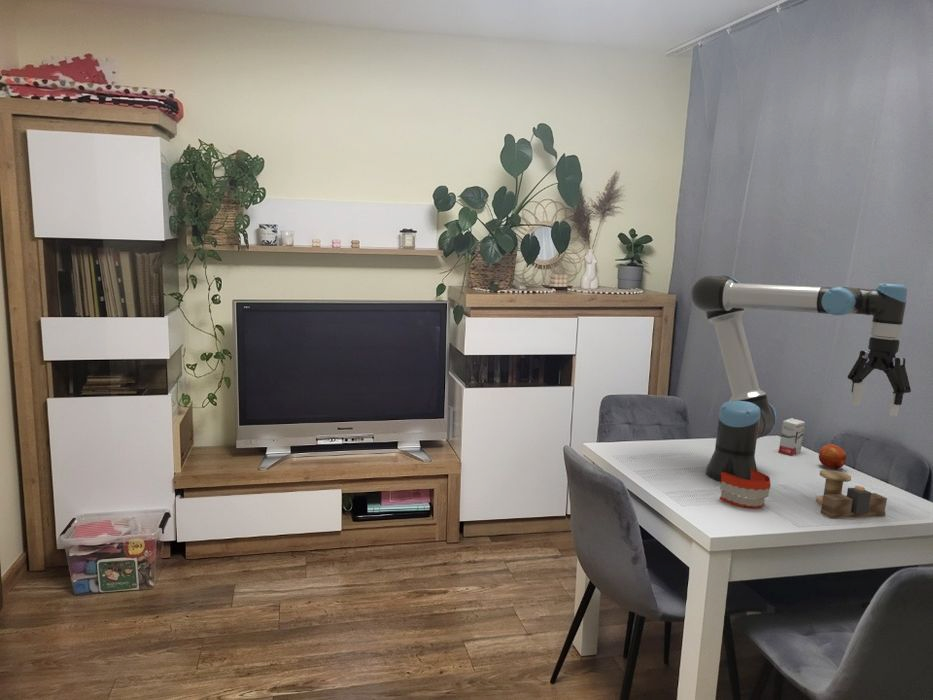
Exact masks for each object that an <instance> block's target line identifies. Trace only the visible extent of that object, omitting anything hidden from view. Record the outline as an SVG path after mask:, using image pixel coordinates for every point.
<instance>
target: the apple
mask: <svg viewBox="0 0 933 700" xmlns="http://www.w3.org/2000/svg"><path fill="white" fill-rule="evenodd" d="M818 460H819V462H820V463H821V465H823V466H824V467H826V468H828V469H830V470H839V469H841V468H842V467H843V466H844V465H845V464H846V462H847V453H846V452H845V450H844V449H843V448H842V447H841V446H838V445H836V444H832V443H830V444H829V443H828V444H825V445H824V446H822V447H821V448H820V449H819V451H818Z"/></svg>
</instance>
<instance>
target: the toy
mask: <svg viewBox="0 0 933 700" xmlns="http://www.w3.org/2000/svg"><path fill="white" fill-rule="evenodd" d="M770 478H771V477H769V475H766V474H764V473H762V472H761V471H759V470H757V471H756V470H754V469H751V480H748V479H743V478H739V477H736V476H734V475H731V474H729V473H726V472H721V481H720V482H721V483H720V486H719V487H720V496H719V500H720V501H723V502H725V503H727V504H730V505H733V506H735V507H739V508H745V509H758V508H762V507H764V506H765V499H767V498H768V497H769V496H770V495H769V494H770V489H771V479H770Z"/></svg>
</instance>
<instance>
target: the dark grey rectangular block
mask: <svg viewBox="0 0 933 700" xmlns="http://www.w3.org/2000/svg"><path fill="white" fill-rule="evenodd" d="M871 493H872V492H871V491H869V490H867V489H866V488H865V487H864V486H861V485H854V487H848V488H847V492H846V496H847V497H849V498H851V499H853V501H852V508H851V512H853V513H855V514H868V510H869V504H870V498H871Z"/></svg>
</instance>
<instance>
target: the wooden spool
mask: <svg viewBox="0 0 933 700" xmlns="http://www.w3.org/2000/svg"><path fill="white" fill-rule="evenodd" d="M819 476H820V477H822V478H824V479H825V482H824V483H825V484H824V489H823V495H829V494H842V492H843V485H844V483H846V482H851V480H852V476H851V475H849V474H848V473H845V472H843V471H842V472H841V471H838V470H834V469H822V470H819ZM823 495H818V496H816V497H815V503H816V504H818V505H820V506H822V502H823Z"/></svg>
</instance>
